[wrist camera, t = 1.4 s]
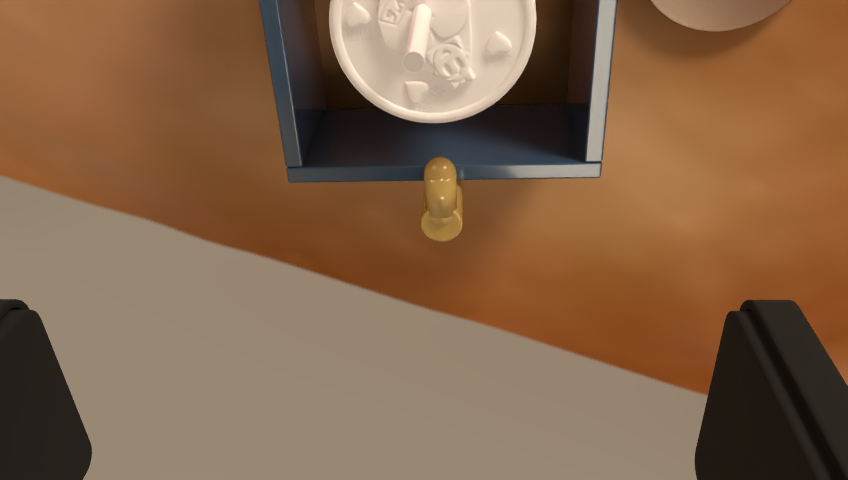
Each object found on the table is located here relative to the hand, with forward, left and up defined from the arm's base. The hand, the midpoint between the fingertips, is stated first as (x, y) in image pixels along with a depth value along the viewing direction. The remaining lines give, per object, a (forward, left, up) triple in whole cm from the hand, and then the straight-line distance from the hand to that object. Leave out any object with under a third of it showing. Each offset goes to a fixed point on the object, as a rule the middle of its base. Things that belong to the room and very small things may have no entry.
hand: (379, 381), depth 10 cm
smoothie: (0, 0, -25) cm, 25 cm away
